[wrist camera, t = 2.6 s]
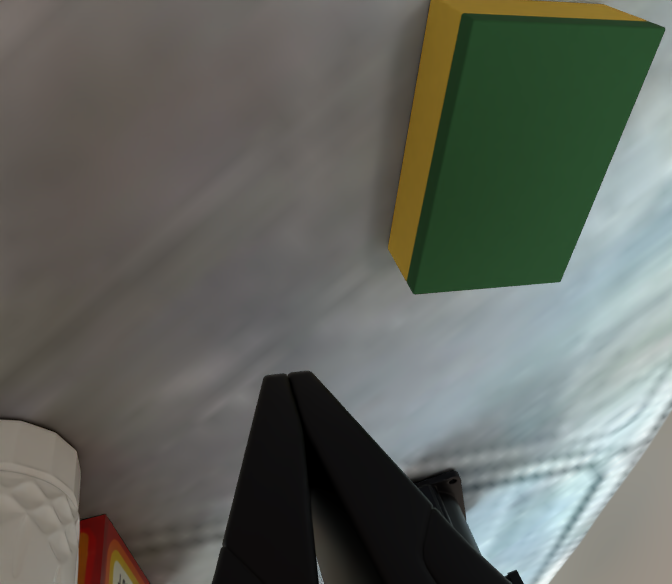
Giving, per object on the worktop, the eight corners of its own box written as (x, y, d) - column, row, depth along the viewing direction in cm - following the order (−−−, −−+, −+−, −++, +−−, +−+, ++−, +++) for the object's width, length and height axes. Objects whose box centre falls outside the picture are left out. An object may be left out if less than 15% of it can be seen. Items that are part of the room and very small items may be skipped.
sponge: (522, 240, 24) (561, 282, 21) (387, 248, 22) (413, 295, 20) (603, 3, 18) (667, 27, 16) (430, -6, 17) (473, 19, 14)
